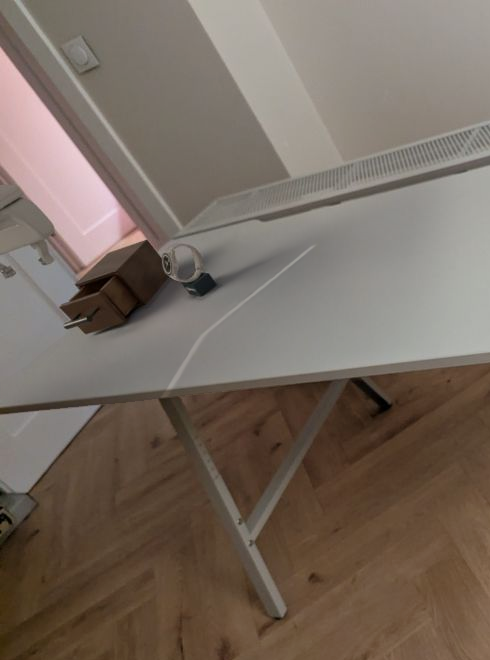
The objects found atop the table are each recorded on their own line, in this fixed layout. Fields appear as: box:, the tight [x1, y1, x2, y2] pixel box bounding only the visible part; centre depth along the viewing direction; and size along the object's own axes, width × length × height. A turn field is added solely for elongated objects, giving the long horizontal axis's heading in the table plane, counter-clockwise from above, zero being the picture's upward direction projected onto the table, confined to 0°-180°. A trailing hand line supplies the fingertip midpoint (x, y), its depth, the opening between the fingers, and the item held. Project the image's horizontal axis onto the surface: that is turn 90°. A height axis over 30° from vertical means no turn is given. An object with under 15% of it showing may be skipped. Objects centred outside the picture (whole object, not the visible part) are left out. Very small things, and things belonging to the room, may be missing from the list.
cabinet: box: [74, 239, 170, 310], centre depth 128 cm, size 15×12×10 cm
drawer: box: [58, 274, 139, 335], centre depth 119 cm, size 18×10×8 cm, turn 0°
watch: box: [161, 243, 218, 297], centre depth 116 cm, size 6×8×11 cm
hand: (30, 269), depth 105 cm, fingers open, 8 cm apart
